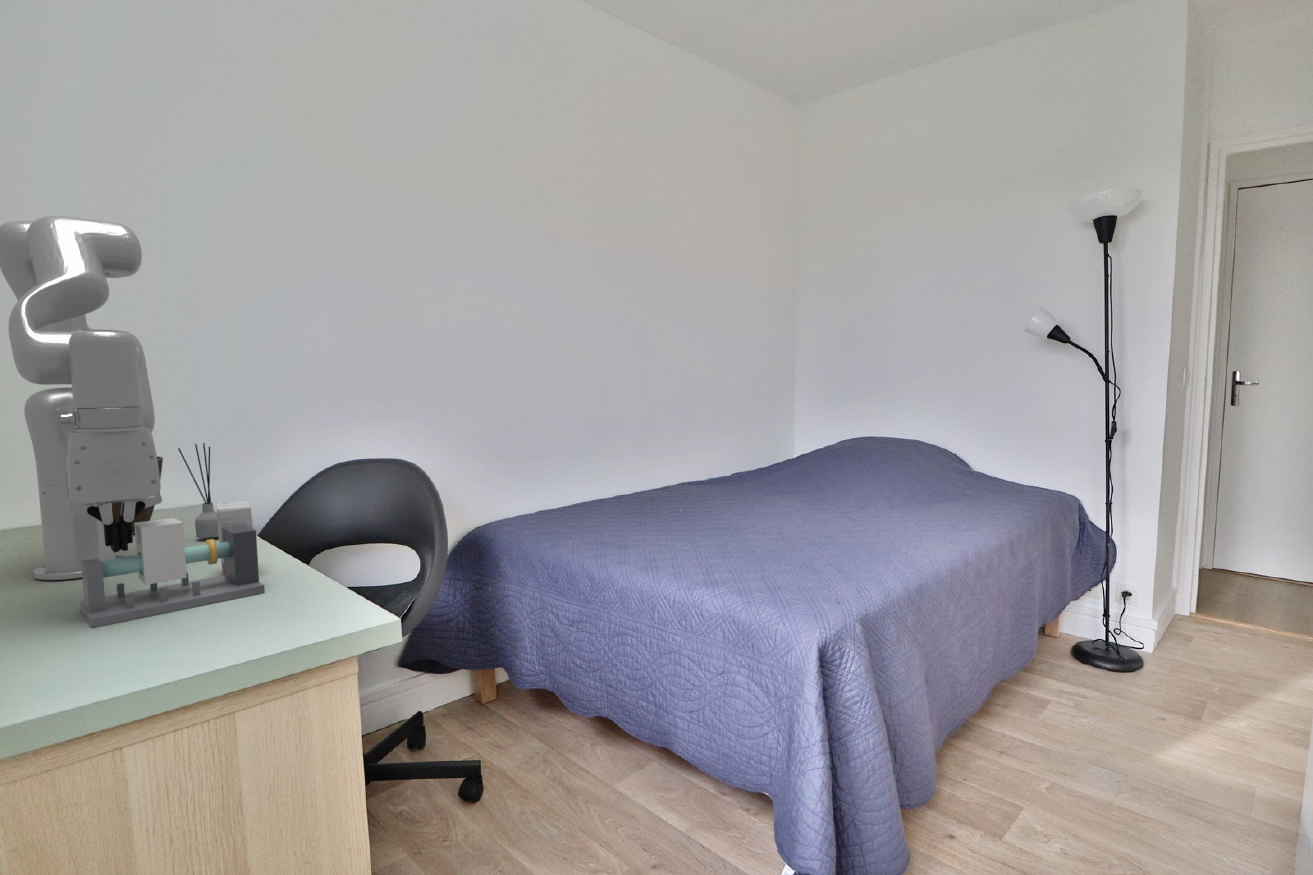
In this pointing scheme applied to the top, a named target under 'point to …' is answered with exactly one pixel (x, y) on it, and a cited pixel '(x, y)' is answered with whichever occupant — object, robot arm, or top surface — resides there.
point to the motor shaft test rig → (187, 594)
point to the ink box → (233, 517)
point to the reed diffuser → (205, 504)
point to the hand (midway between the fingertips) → (119, 549)
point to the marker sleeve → (161, 550)
